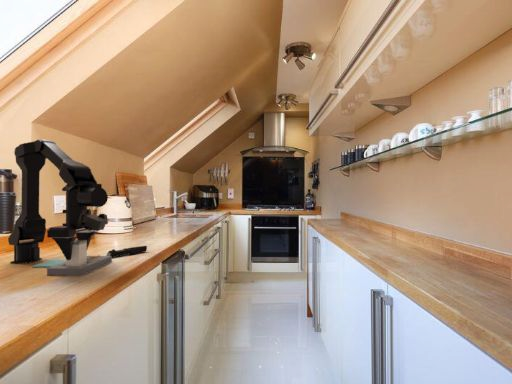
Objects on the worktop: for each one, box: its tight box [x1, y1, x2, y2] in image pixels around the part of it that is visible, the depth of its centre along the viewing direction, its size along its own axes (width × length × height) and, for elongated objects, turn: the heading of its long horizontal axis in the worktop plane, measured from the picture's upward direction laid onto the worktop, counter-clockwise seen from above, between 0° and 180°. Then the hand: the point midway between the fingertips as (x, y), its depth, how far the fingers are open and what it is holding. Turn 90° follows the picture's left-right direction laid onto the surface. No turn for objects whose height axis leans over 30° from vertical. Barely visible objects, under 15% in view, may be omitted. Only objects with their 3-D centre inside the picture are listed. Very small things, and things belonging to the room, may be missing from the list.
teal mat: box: [31, 258, 66, 269], centre depth 104 cm, size 10×10×1 cm
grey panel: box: [46, 254, 113, 277], centre depth 99 cm, size 10×18×2 cm, turn 179°
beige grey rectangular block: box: [66, 239, 88, 266], centre depth 96 cm, size 4×4×9 cm
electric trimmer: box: [105, 245, 148, 259], centre depth 120 cm, size 4×16×3 cm, turn 140°
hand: (76, 257), depth 96 cm, fingers open, 7 cm apart
